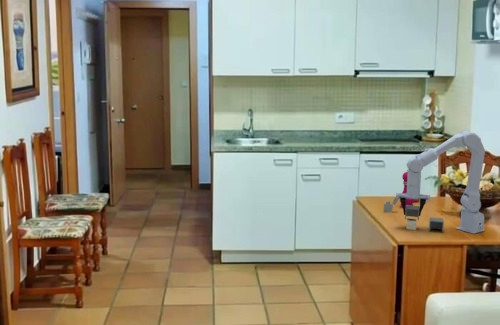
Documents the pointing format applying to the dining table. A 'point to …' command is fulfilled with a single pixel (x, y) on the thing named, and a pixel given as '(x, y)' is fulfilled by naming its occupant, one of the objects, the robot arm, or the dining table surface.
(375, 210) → the dining table surface
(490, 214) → the dining table surface
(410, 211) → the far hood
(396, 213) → the dining table surface
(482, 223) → the robot arm
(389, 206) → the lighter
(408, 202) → the pepper mill
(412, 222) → the cube
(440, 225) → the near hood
